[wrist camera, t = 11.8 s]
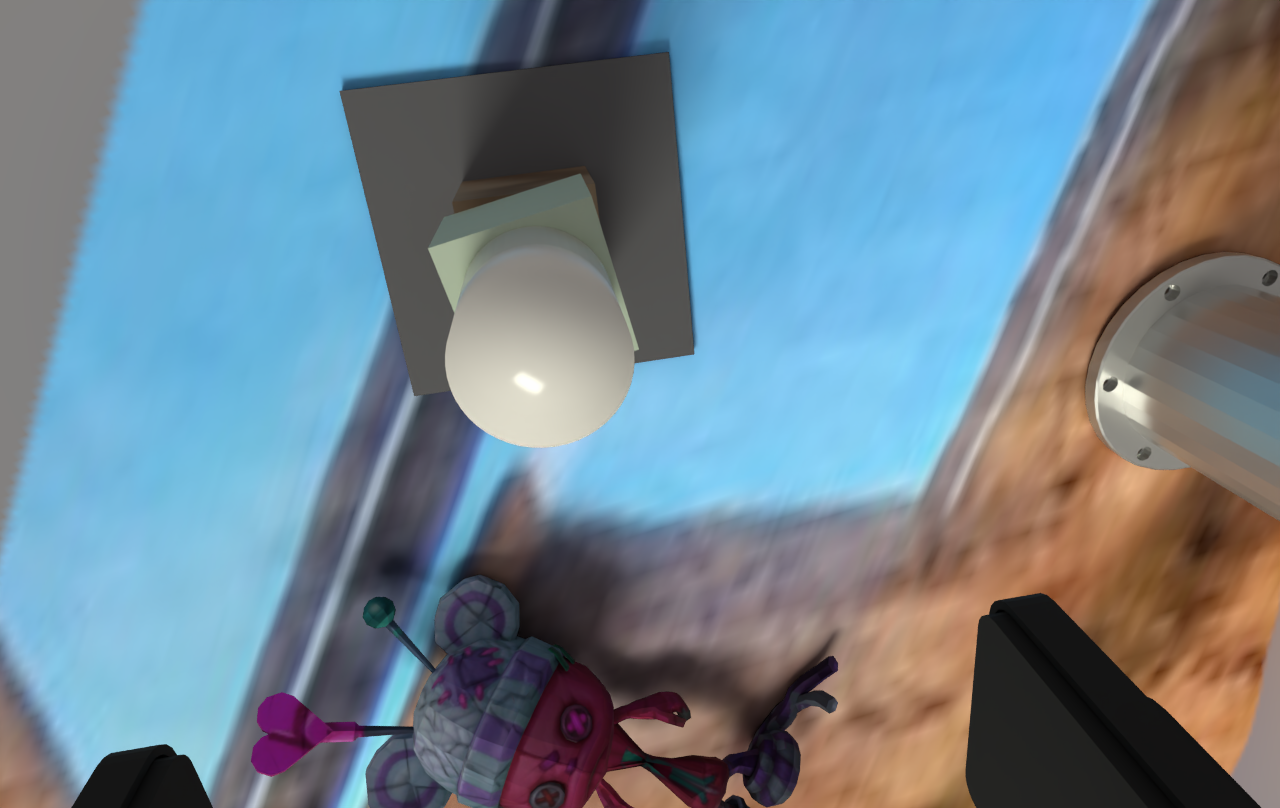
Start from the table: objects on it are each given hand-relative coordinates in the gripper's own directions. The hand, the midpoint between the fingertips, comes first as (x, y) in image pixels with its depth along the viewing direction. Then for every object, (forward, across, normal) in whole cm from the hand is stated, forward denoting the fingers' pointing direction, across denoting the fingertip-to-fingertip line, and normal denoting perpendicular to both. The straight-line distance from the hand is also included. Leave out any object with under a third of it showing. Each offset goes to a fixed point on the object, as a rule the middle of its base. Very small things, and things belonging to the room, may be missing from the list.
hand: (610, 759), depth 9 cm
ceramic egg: (+19, +1, 0) cm, 19 cm away
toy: (+31, +3, +25) cm, 40 cm away
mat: (+30, +1, 0) cm, 30 cm away
